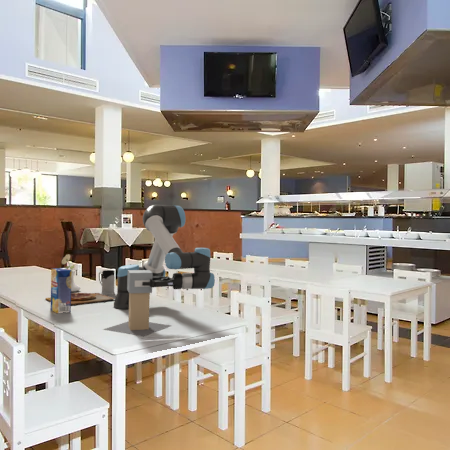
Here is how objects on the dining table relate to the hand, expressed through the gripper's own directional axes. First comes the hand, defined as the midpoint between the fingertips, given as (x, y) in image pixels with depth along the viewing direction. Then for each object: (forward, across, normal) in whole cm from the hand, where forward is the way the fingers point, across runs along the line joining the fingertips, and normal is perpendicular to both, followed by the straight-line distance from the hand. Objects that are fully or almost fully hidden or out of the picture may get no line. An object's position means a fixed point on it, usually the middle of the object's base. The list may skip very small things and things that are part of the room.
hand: (133, 281), depth 197 cm
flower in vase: (+30, +106, -23) cm, 112 cm away
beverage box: (+33, +45, -22) cm, 60 cm away
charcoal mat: (-3, 0, -22) cm, 22 cm away
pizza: (+23, +74, -23) cm, 81 cm away
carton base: (-3, 0, -21) cm, 21 cm away
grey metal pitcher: (+8, +96, -23) cm, 99 cm away
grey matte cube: (-3, 0, -4) cm, 5 cm away
